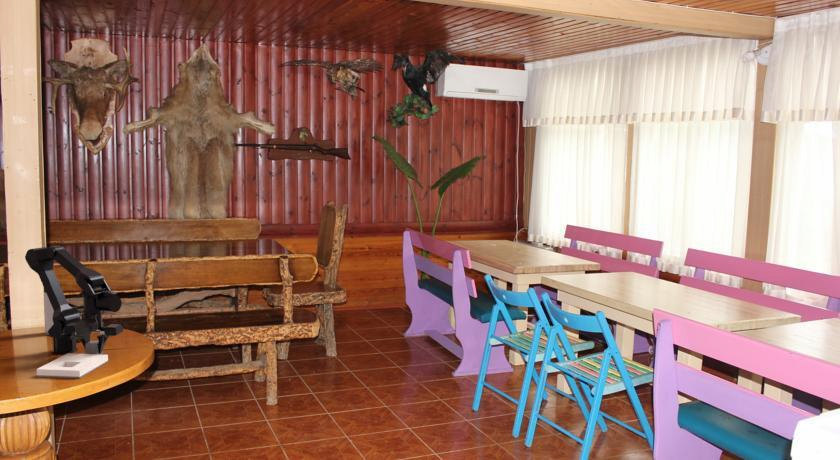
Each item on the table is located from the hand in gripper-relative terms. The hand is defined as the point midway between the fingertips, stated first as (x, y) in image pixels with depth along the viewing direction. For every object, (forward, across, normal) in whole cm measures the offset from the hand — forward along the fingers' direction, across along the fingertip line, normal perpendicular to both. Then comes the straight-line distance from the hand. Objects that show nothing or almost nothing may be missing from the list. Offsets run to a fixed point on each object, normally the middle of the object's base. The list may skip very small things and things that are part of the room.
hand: (94, 353), depth 248 cm
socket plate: (+1, +1, -15) cm, 15 cm away
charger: (+1, 0, 0) cm, 1 cm away
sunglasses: (+2, -15, +26) cm, 30 cm away
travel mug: (+1, -31, +28) cm, 42 cm away
